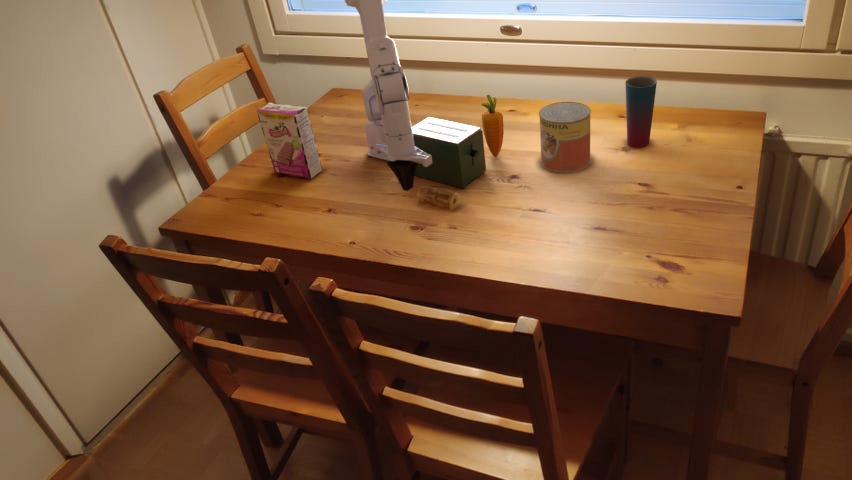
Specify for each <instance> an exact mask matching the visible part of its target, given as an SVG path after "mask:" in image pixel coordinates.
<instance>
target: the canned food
mask: <svg viewBox="0 0 852 480" xmlns="http://www.w3.org/2000/svg"><path fill="white" fill-rule="evenodd" d="M591 113H592V110H591V108H590V107H589V106H588V105H586V104H585V103H582V102H575V101H561V102H560V101H559V102H558V101H557V102H554V103H550V104H547V105H545V106H542V108H541V109H540V110H539V112H538V117H539V133H540V134H539V135H540V136H539V137H540V164H541V166H542V167H543V168H544V169H546V170H547V171H550V172H554V173H562V174H564V173H565V174H566V173H575V172H578V171H581V170H584V169H585V168H587V167H588V166H589V165H590V163H591V160H592V159H591Z"/></svg>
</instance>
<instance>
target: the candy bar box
mask: <svg viewBox="0 0 852 480" xmlns="http://www.w3.org/2000/svg"><path fill="white" fill-rule="evenodd" d="M256 114H257V117H258V121H259V124H260V128H261V130H262V134H263V136H264V140H265V144H266V148H267V150H268V153H269V157H270V160H271V164H272V168H273V171H274V173H275V174H278V175H283V176H291V177H296V178H297V177H298V178H302V179H307V180H309V179H310V180H312V179H314V178H315V177H316V176H317V175H318V174H320V173H321V172H323V166H322V163H321V159H320V155H319V150H318V147H317V142H316V139H315V134H314V130H313V127H312V123H311V117H310V114H309V110H308V107H307V106H299V105H292V104H283V103H275V102H268V103H266V104H265V105H263V106H261V107H259V108H258V109H257V110H256Z"/></svg>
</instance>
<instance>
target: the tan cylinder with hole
mask: <svg viewBox="0 0 852 480" xmlns="http://www.w3.org/2000/svg"><path fill="white" fill-rule="evenodd" d="M417 200H418V202H419V203H421V204H423V205H426V206H430V207H434V208H438V209H442V210H447V211H453V210H454V209H456V208H457V207H458V206H459V203H460V196H459V194H458V193H457V192H456V191H451V190H448V189H445V188H439V187H438V188H434V187H433V186H431V185H422V186H421V187H420V188H419V190H418V192H417Z"/></svg>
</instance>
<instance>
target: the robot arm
mask: <svg viewBox="0 0 852 480" xmlns="http://www.w3.org/2000/svg"><path fill="white" fill-rule="evenodd" d="M386 2H388V0H344V3H345V4H346V6H347V7H350V8H351V7H352V8H355V10H357V13H358V14H359V18H360V24H361V29H362V35H363V40H364V45H365V51H366V55H367V60H368V66H369V71H370V76H371V77H370V80H369V81H368V82H367V83H366V84H365V86H364V87H363V88H362V91H361V92H362V100H363V105H364V110H365V115H366V120H367V121H366V123H365V135H366V140H367V145H368V146H367V147H368V150H369V152H368V153H367V157H368V156H369V157H372V158H376V159H379V160H380V159H381V160H384V161H387V162H386V164H387V167H388V168H389V169H390V170H391V171H392V173H393V174H394V175H395V177H396V179H397V181H398V182H399V185H400V187H401V189H402V191H405V192H408V191H409V192H410V190H412V189H414V183H415V182H414V181H415V176H414V175H415V171H416V168H417V165H418V163H420V164H423V166H425V167H427V166H429V165H430V164H432V156H431V155H430V154H427V153H425V152H423V151H422V150H420V149H419V148H417V147H415V145H414V138H413V132H412V127H413V126H412V121H411V113H410V107H409V102H408V101H409V100H410V89H409V88H410V87H409V84H408V79H407V76H406V74H405V71H404V68H403V66H402V65H401V63H400V58H399V54H398V50H397V46H396V42H395V40H394V39H392V38H391V37H389V36H388V32H387V25H386V18H385V11H384V4H386Z"/></svg>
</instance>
